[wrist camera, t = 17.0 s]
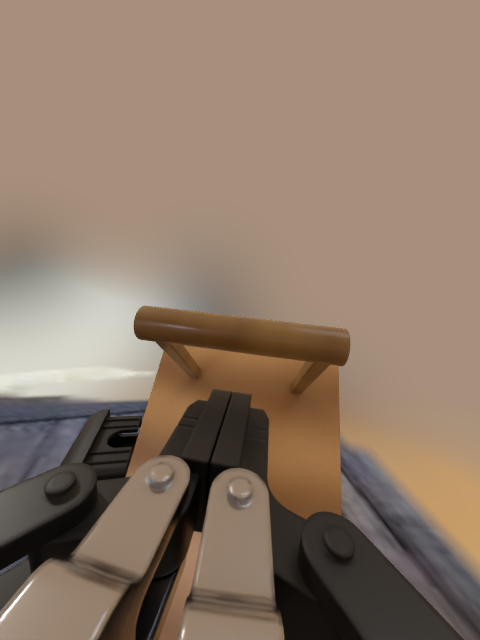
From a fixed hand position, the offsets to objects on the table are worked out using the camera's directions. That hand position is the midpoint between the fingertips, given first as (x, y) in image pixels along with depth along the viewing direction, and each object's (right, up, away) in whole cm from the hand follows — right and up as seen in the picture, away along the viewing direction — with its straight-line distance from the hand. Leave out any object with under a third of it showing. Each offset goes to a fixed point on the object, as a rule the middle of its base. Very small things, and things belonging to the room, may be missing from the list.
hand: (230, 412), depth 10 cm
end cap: (-16, -16, +20) cm, 30 cm away
